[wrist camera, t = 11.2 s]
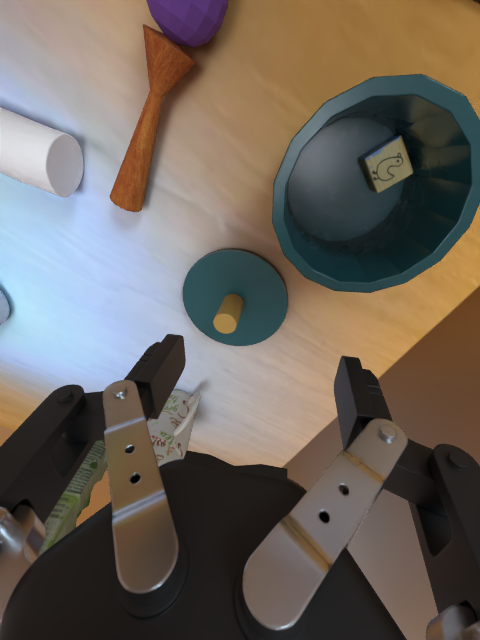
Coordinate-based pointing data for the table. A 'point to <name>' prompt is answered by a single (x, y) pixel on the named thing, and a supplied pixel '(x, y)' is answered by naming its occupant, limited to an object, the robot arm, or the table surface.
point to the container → (388, 205)
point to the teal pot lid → (235, 297)
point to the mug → (173, 426)
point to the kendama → (163, 82)
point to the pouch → (75, 496)
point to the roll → (39, 155)
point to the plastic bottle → (3, 308)
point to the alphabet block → (385, 164)
